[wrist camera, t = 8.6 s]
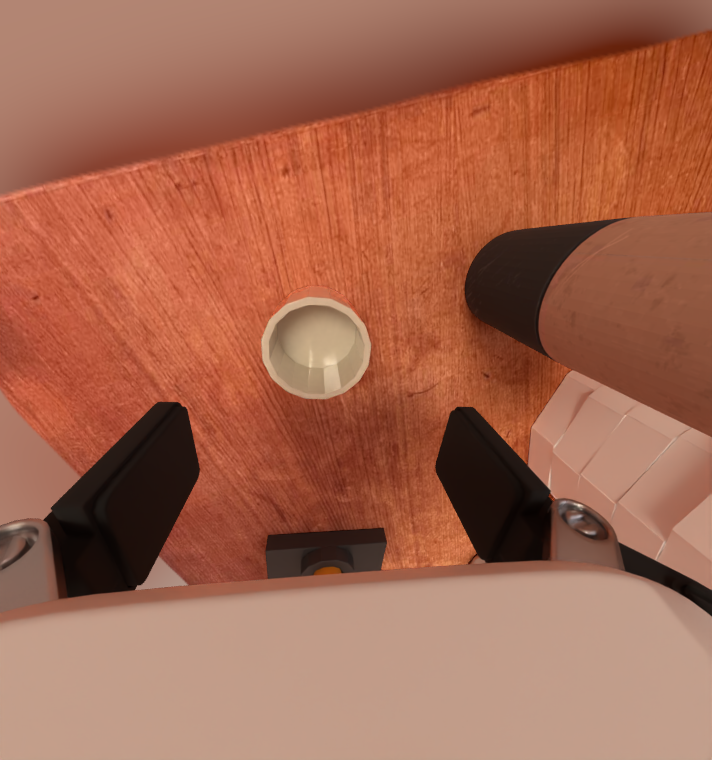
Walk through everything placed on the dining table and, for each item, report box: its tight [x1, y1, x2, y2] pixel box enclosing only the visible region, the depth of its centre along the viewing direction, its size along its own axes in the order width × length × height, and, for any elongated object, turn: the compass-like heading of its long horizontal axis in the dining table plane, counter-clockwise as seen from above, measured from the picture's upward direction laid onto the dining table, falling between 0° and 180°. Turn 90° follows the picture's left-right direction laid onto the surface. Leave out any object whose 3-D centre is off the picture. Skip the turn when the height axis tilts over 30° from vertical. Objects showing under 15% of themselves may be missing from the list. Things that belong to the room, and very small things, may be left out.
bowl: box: [261, 286, 371, 399], centre depth 20 cm, size 7×7×5 cm
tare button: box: [314, 567, 341, 575], centre depth 31 cm, size 3×3×2 cm
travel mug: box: [465, 212, 712, 437], centre depth 13 cm, size 8×8×20 cm
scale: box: [266, 528, 387, 579], centre depth 35 cm, size 14×16×4 cm
